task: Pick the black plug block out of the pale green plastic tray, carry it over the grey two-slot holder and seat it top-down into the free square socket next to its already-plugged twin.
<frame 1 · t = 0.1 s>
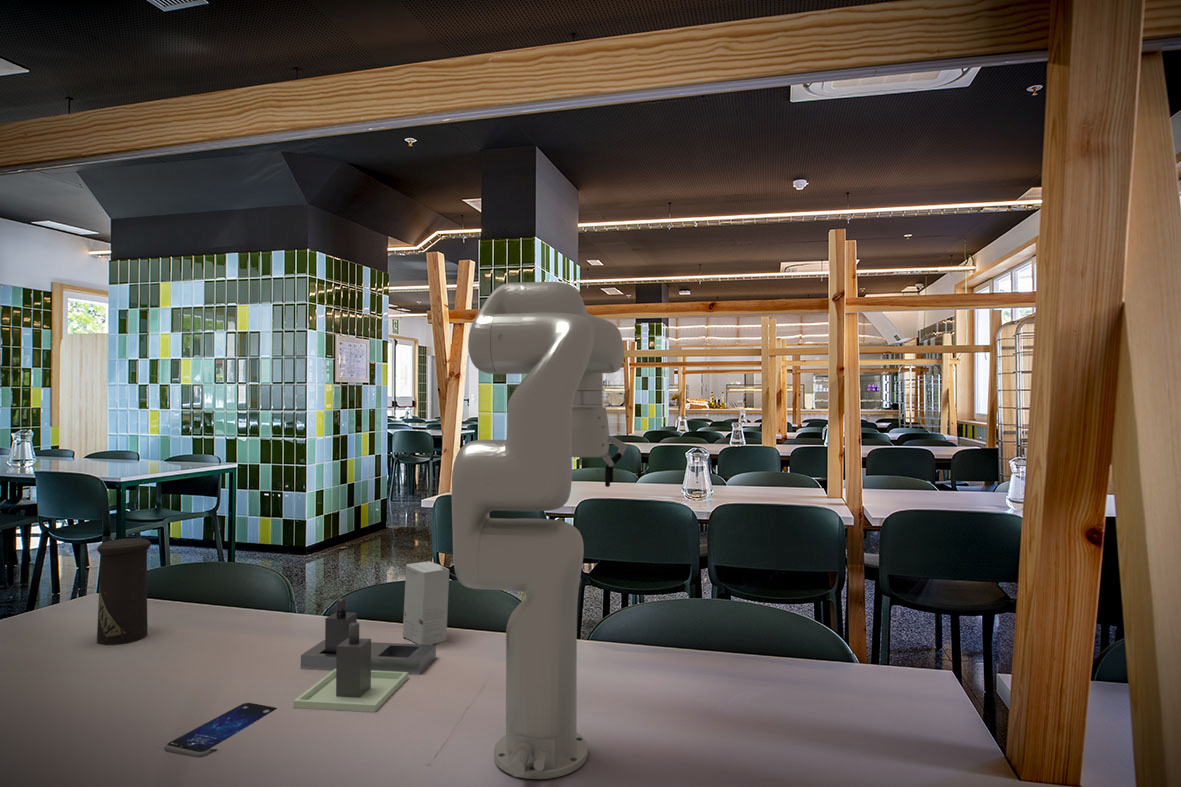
hand: (583, 485, 138), 31 cm above the table, fingers open, 9 cm apart
plug: (353, 691, 112), resting on tray
skincare box: (425, 640, 139), on the table
smartphone: (225, 733, 100), on the table
container: (122, 639, 139), on the table
grey two-slot holder: (369, 665, 124), on the table
tray: (353, 695, 112), on the table
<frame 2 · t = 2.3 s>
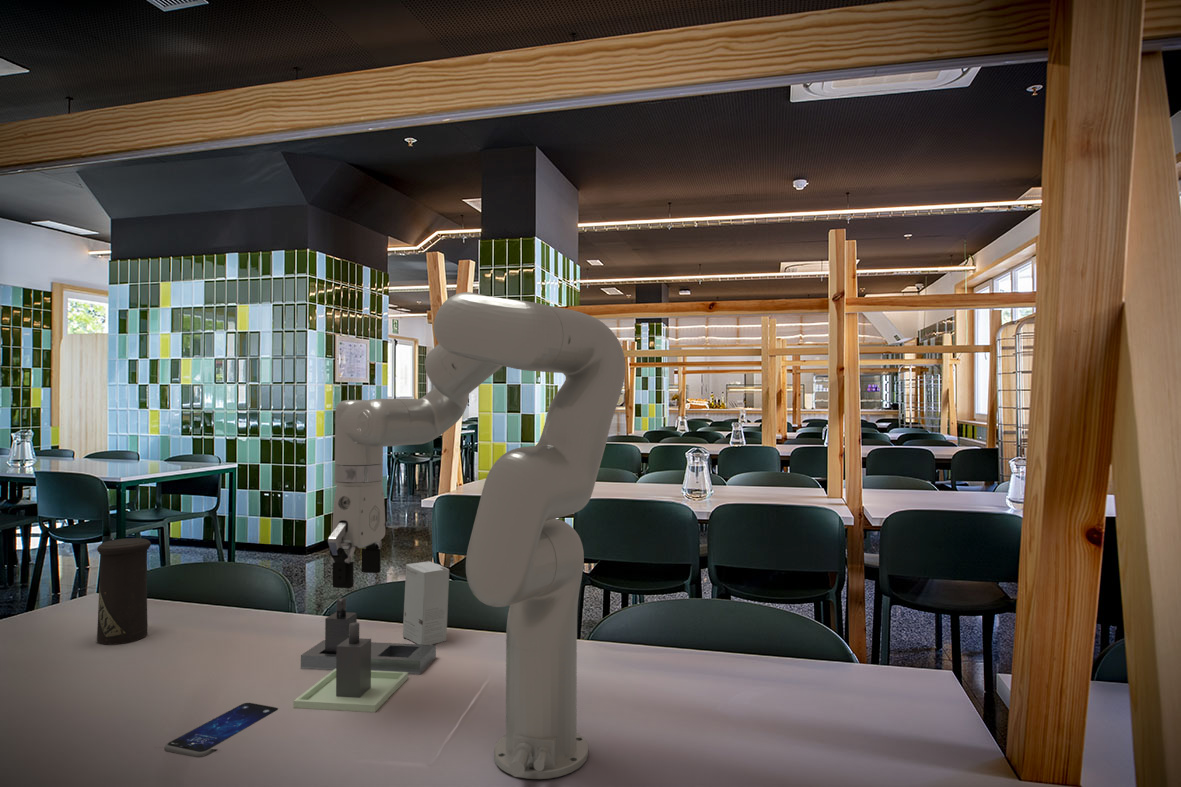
hand: (357, 579, 112), 19 cm above the table, fingers open, 9 cm apart
nothing on the table moved.
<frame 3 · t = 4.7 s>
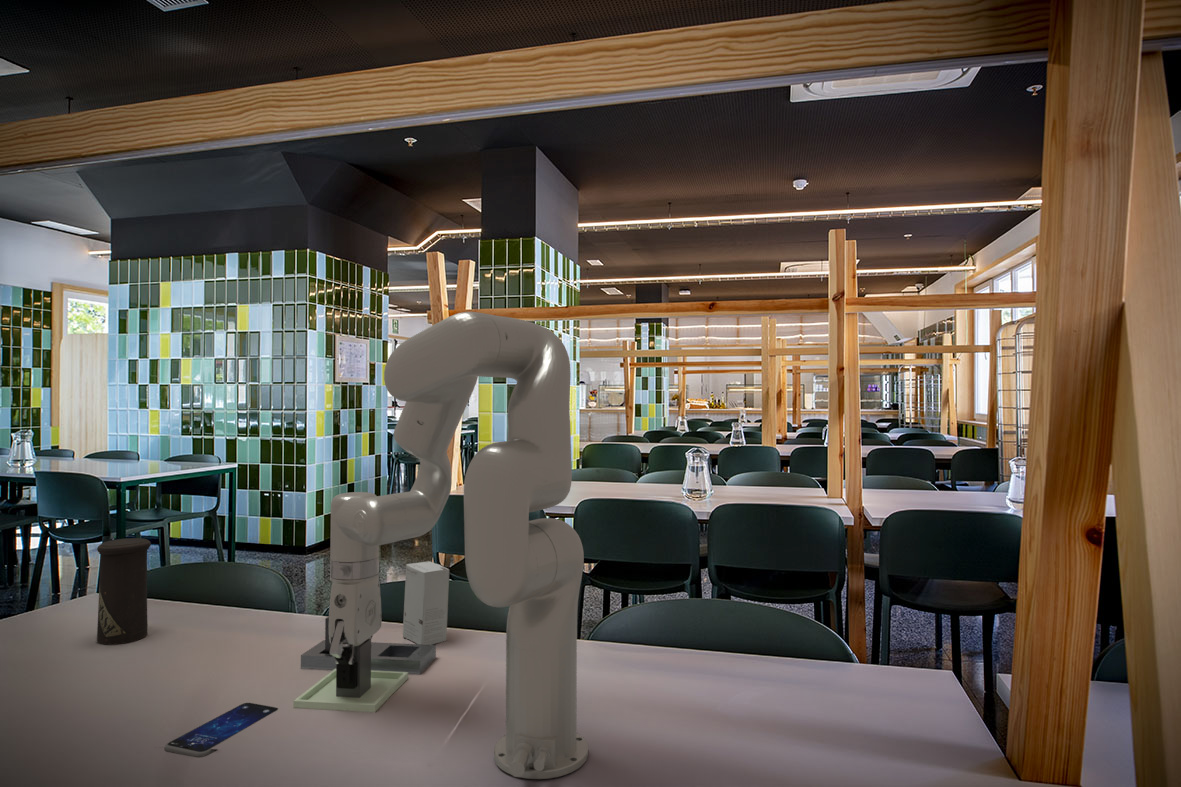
hand: (353, 680, 112), 2 cm above the table, fingers closed on plug, 4 cm apart
plug: (353, 691, 112), point 1 cm above the table, touching gripper, tray
everything else where it was.
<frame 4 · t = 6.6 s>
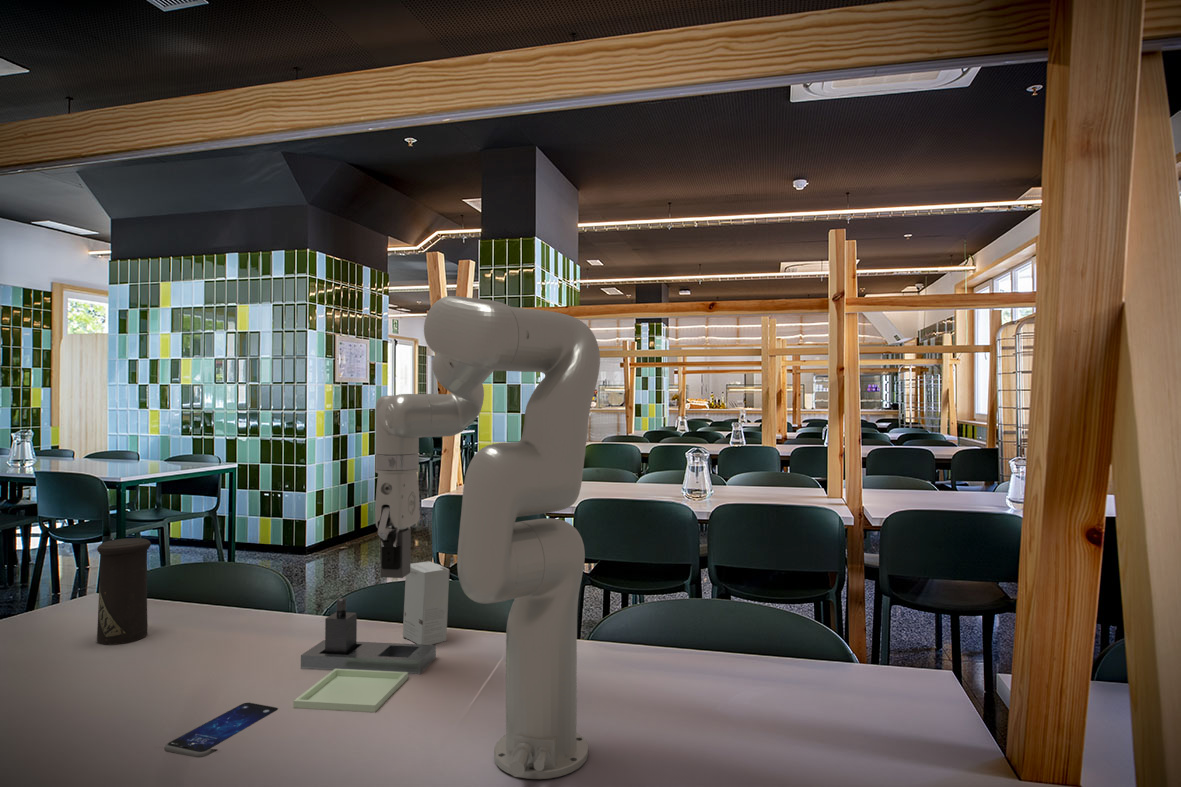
hand: (396, 564, 123), 19 cm above the table, fingers closed on plug, 4 cm apart
plug: (395, 574, 123), point 17 cm above the table, touching gripper
everything else where it was.
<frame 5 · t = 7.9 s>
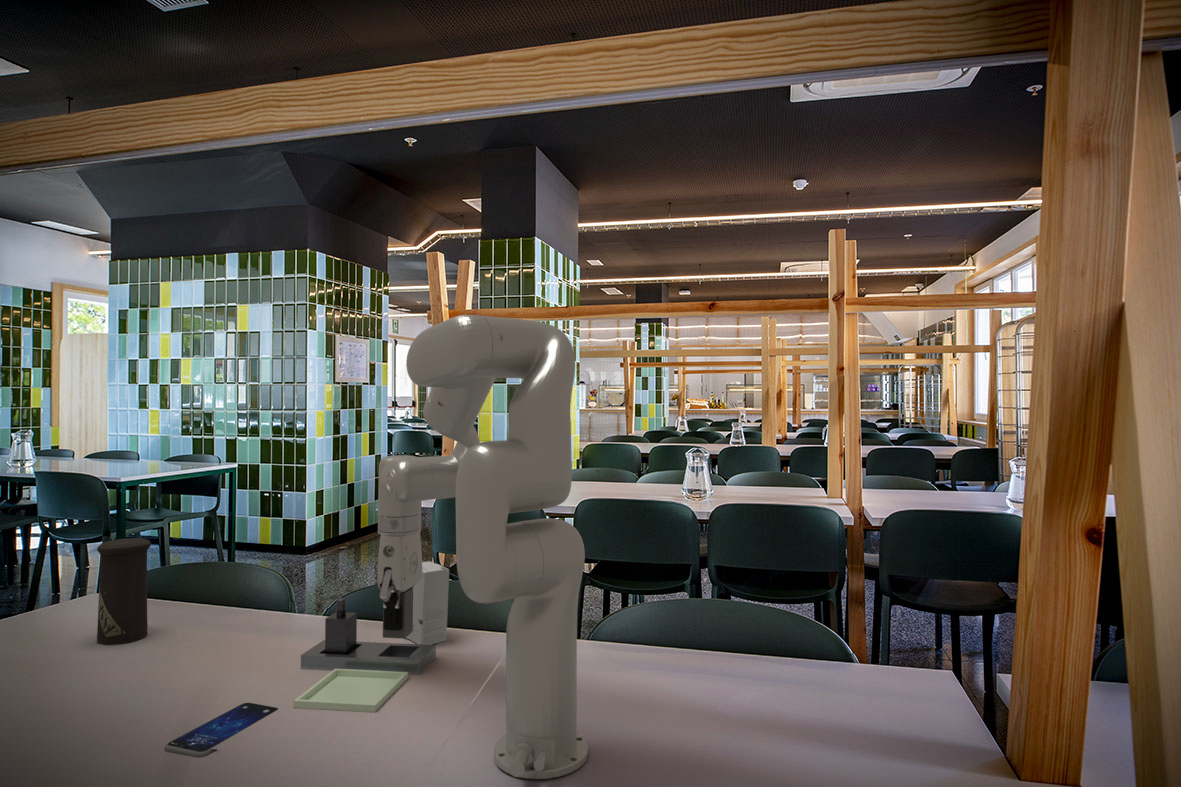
hand: (398, 624, 124), 8 cm above the table, fingers closed on plug, 4 cm apart
plug: (397, 634, 124), point 6 cm above the table, touching gripper
everything else where it was.
when the fingers open (4 cm above the table, at t = 9.0 s): plug stays where it is, resting on grey two-slot holder.
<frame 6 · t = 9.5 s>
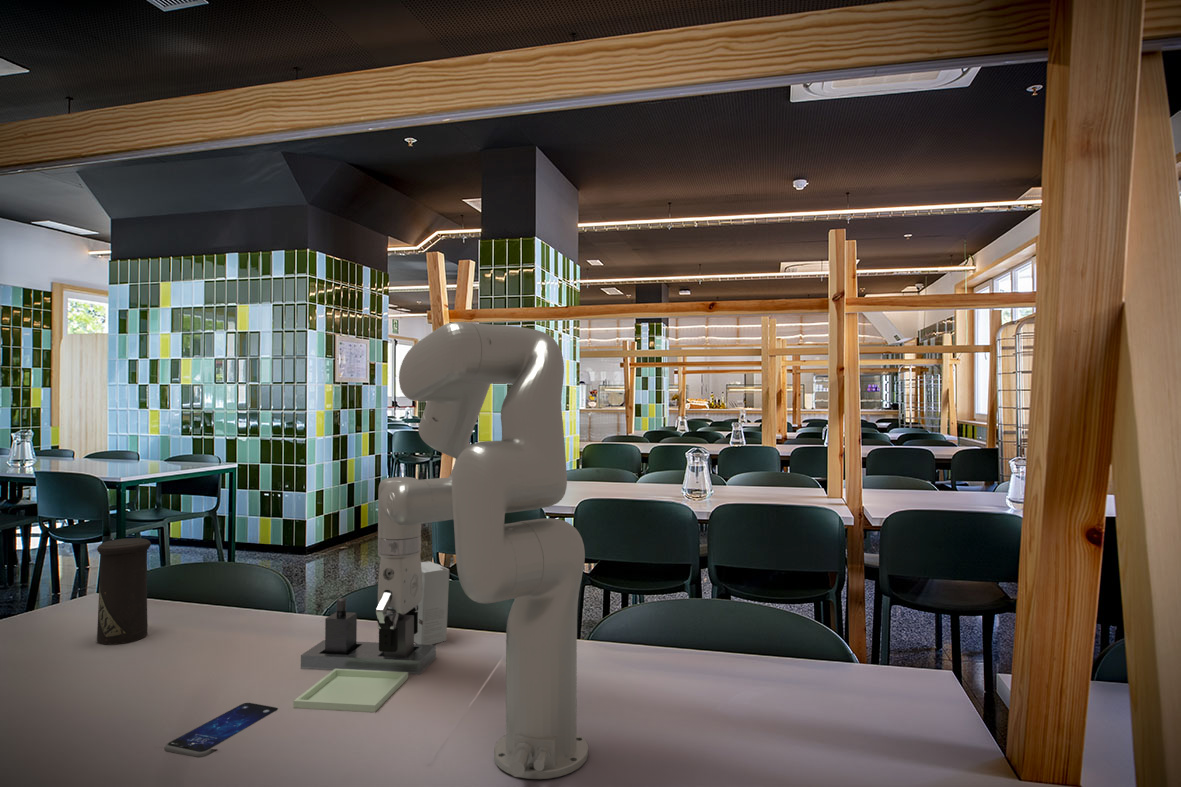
hand: (398, 641, 124), 5 cm above the table, fingers open, 9 cm apart
plug: (398, 662, 124), point 1 cm above the table, touching grey two-slot holder
everything else where it was.
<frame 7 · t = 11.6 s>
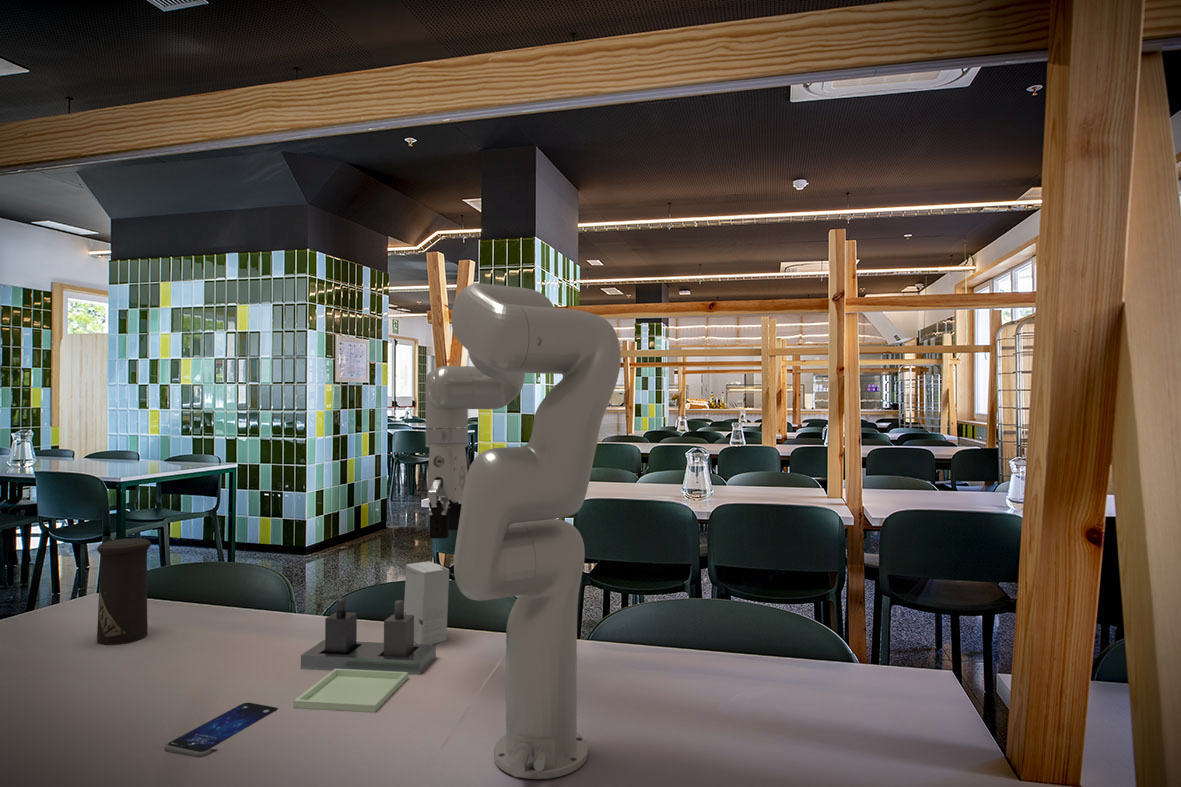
hand: (447, 533, 124), 24 cm above the table, fingers open, 9 cm apart
nothing on the table moved.
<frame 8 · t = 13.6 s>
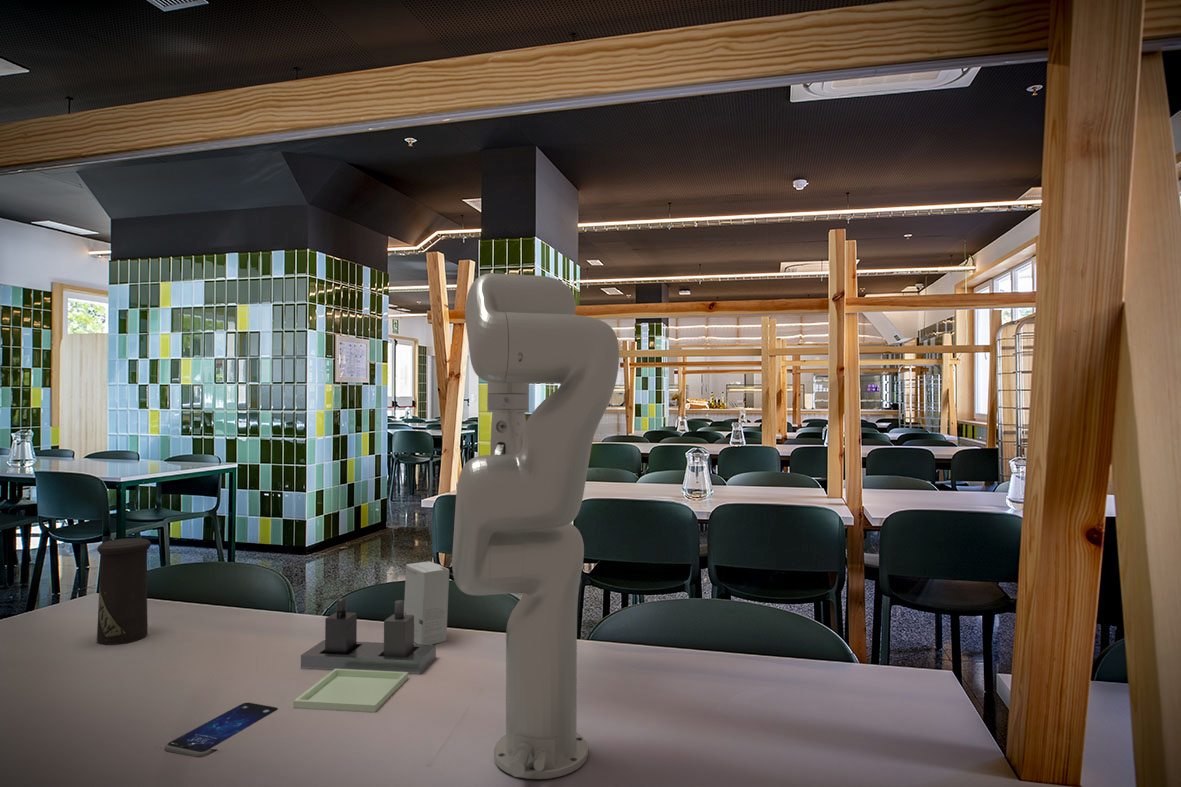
hand: (507, 499, 124), 30 cm above the table, fingers open, 9 cm apart
nothing on the table moved.
at the end: plug 0.1 cm from the target spot on the grey two-slot holder, point 0.8 cm above the grey two-slot holder's base; plug tilted 0°; the gripper is holding nothing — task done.
